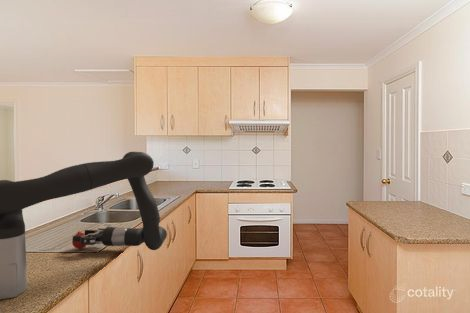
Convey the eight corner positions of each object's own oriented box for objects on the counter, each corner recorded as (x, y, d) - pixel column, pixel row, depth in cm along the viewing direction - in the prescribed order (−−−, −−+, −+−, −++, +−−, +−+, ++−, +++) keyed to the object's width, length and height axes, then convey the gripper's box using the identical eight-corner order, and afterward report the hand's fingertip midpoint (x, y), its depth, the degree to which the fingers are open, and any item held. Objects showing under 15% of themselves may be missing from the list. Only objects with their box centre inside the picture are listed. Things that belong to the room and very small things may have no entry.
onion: (75, 247, 136) (75, 229, 135) (89, 247, 136) (89, 228, 136) (70, 252, 130) (69, 232, 130) (84, 252, 131) (84, 232, 130)
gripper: (124, 223, 138) (88, 222, 140) (108, 232, 124) (68, 231, 126) (124, 240, 139) (88, 239, 140) (108, 251, 125) (68, 250, 126)
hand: (79, 235), depth 133 cm, fingers open, 8 cm apart
